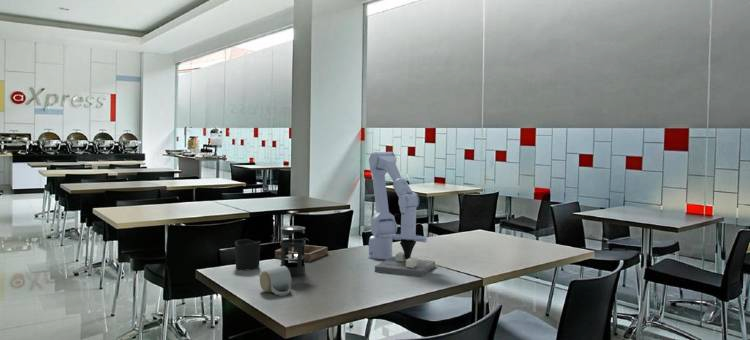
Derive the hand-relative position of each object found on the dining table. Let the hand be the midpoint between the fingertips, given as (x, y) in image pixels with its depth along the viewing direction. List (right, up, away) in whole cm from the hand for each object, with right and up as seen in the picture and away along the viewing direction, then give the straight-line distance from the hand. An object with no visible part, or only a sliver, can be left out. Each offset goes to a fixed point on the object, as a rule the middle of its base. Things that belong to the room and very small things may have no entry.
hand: (407, 259), depth 216 cm
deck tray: (-43, -1, +17) cm, 47 cm away
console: (-1, -3, -4) cm, 5 cm away
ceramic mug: (-44, -5, -37) cm, 58 cm away
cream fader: (+1, -1, -9) cm, 9 cm away
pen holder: (-61, -3, -5) cm, 61 cm away
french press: (-43, -3, -13) cm, 45 cm away
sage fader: (-3, -1, +1) cm, 3 cm away
